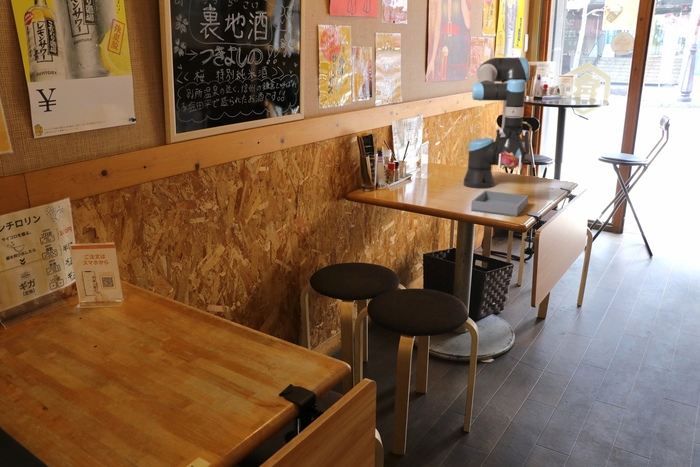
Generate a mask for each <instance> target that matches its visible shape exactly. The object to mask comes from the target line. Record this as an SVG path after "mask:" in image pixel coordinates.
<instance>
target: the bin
mask: <svg viewBox="0 0 700 467" xmlns="http://www.w3.org/2000/svg"><path fill="white" fill-rule="evenodd" d="M470 206H471V207H470V208H471V209H470V210H471V212H477V213H485V214H491V215H498V216H499V215H500V216H505V217H506V216H507V217H512V218H513V217H514V218H518V217H519V215H520V214H522V212H523V211H524V210H525V209H526V208H527V207H528V206H529V195H526V194H524V195H523V194H517V193H507V192H500V191H490V190H484V191H483V192H482V193H481V192H480V194H479V195H477V196H476V197H474V198H473V199H472V200H471V205H470Z"/></svg>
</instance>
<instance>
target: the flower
mask: <svg viewBox="0 0 700 467" xmlns="http://www.w3.org/2000/svg"><path fill="white" fill-rule="evenodd" d="M502 154H503V157H502V158H501V163H502V164H503V165H502V166H503V167H501V168H502V170H505V169H508V170H512V171H514V169H516V168H519V163H517V162H519V158H517V157H515V156H514V155H513V153H512V152H511V153H510V154H509V153H507V152H505V151H504V152H502Z"/></svg>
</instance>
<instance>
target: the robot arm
mask: <svg viewBox="0 0 700 467" xmlns="http://www.w3.org/2000/svg"><path fill="white" fill-rule="evenodd" d="M529 65H530V64H529V60H528V59H527V58H526V57H519V56H518V57H493V58H489V59H487V60H486V61H484V62H482V63H481V64H480V65H479V67H478V69H477V72H476V74H477V75H476V76H477V79H478V81H477V82H475V83H473V84H472V97H471V98H472V100H473V101H499V102H500V101H501V102H502V101H503V104H502V105H503V106H502V118H501V120H502V121H501V128H498V129H496V131H495V132H496V135H495V136H496V137H495V140H494V139H493V138H492V137H483V138H475V139H472V140H471V141H470V142H469V145H468V158H467V160H468V162H467V163H468V164H467V170H466V173H465V176H464V178H463V181H462V182H463V183H462V184H463V185H464V187H468V188H474V189H488V188H492V187H493V186H495V179H494V176H493V171H492V166H497V169H501V168H502V166H504V165H503V164H502V163H501V158H502V157H503V154H502V152H504V151H505V152H507V153H509V154H510V153H511V152H512V153H513V155H514V156H515V157H517V158H519V162H517V163H519V165H518V167H517V168H518V171H521V170H522V168H523V167H522V166H523V163H525V160H526V155H528V154H530V153H531V151H530V140H529V139H530V138H529V135H530V131H529V130H524V129H523V122H524V119H523V116H524V112H525V111H524V108H525V98H526V96H525V95H526V89H527V88H526V86H527V85H526V83H528V82H529V81H530V66H529ZM521 135H523V136H524V137H522V136H521ZM523 138H524V141H523Z"/></svg>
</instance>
